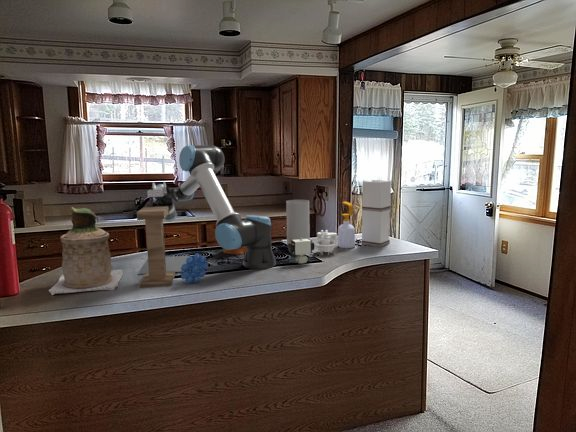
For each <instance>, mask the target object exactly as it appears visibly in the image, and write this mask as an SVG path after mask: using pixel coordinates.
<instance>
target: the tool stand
mask: <svg viewBox="0 0 576 432" xmlns="http://www.w3.org/2000/svg"><path fill="white" fill-rule="evenodd" d="M168 214H169V206H158V205H157V206H143V207H142V208H141V209H139V210H138V211H136V219H137V221H145V222H144V224H145V234H146V235H145V237H146V251H147V260H148V267H149V272H146V274H145V275H143V277H142V278H141V281H140V282H139V288H153V287H154V288H155V287H169V286H170V287H171V286H172V284H173V281H174V278H175V276H176V273H175V271H166V259H165V257H166V247H165V246H166V245H165V232H164V231H165V230H164V219H165V217H166V216H167V215H168ZM174 275H175V276H174Z"/></svg>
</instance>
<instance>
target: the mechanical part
mask: <svg viewBox="0 0 576 432" xmlns="http://www.w3.org/2000/svg"><path fill="white" fill-rule="evenodd" d="M316 234H317V237H316V240H317V241H316V242H314V246H315V248H318V249H317V250H318V251H319V252H320V254H321V255H324V253H327V255H328V256H329V255H330V254H332V251H333V250H334V248H336V247H337V243H338V232H337V233H336V232H329V230H328V229H325V231H324V230H323V229H321V230H320V231H319V232H316Z"/></svg>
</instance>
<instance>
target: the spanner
mask: <svg viewBox="0 0 576 432" xmlns="http://www.w3.org/2000/svg"><path fill="white" fill-rule="evenodd" d="M146 192H147V198H150V197H163V196H164V193H165V191H164V188H163V186H158V187H156V188H154V189H152V190H151V189H148V190H147V191H146Z"/></svg>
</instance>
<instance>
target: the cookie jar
mask: <svg viewBox="0 0 576 432" xmlns="http://www.w3.org/2000/svg"><path fill="white" fill-rule="evenodd" d="M70 209H71V211H72V213H71V218H70V220H71V221H70V222H71V224H72V228H71V229H69V230H68V232H66V233H65V234H63V235H61V236H60V237H59V239H60V242H61V247H62V251H61V252H62V253H61V254H62V262H61V270H62V274H61V275H60V277H59V279H58V281H57V282H56V283H55V284H54V285H53V286H52V287H50V289H48V292H49V293H50V294H51V296H52V295H56V294H71V293H81V292H91V291H92V292H93V291H113V290H114V291H115V289H116V287H118V286H119V283H120V280H121V279H122V277H123V270H121V269H113V270H112V268H113V265H112V254H111V252H110V247H109V238H110V233H109V232H108V231H106V230H104V229H102V228H99V227H97V226H96V223H97V219H98V216H97V215H96V213H95V212H93V211H92V210H91V209H90V208H88V207H82V208H75V207H70Z"/></svg>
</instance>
